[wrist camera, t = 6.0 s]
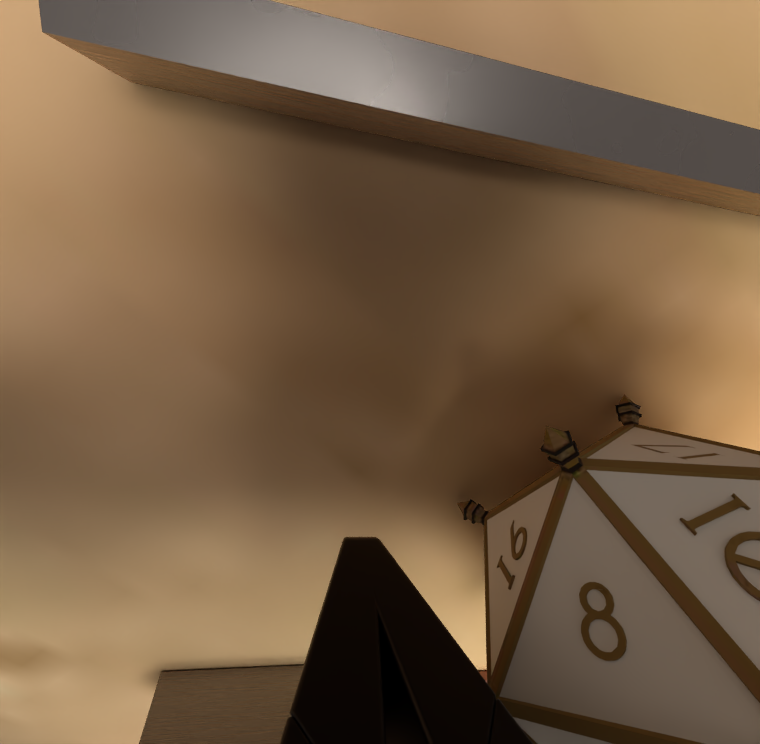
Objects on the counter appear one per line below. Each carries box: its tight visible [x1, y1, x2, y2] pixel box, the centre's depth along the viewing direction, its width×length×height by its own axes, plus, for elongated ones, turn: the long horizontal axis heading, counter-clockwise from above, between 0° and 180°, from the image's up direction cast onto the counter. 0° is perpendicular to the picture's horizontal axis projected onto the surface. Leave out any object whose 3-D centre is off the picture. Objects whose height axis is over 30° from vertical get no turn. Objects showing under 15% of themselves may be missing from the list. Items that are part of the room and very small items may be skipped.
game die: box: [457, 395, 760, 744], centre depth 8 cm, size 9×8×10 cm
